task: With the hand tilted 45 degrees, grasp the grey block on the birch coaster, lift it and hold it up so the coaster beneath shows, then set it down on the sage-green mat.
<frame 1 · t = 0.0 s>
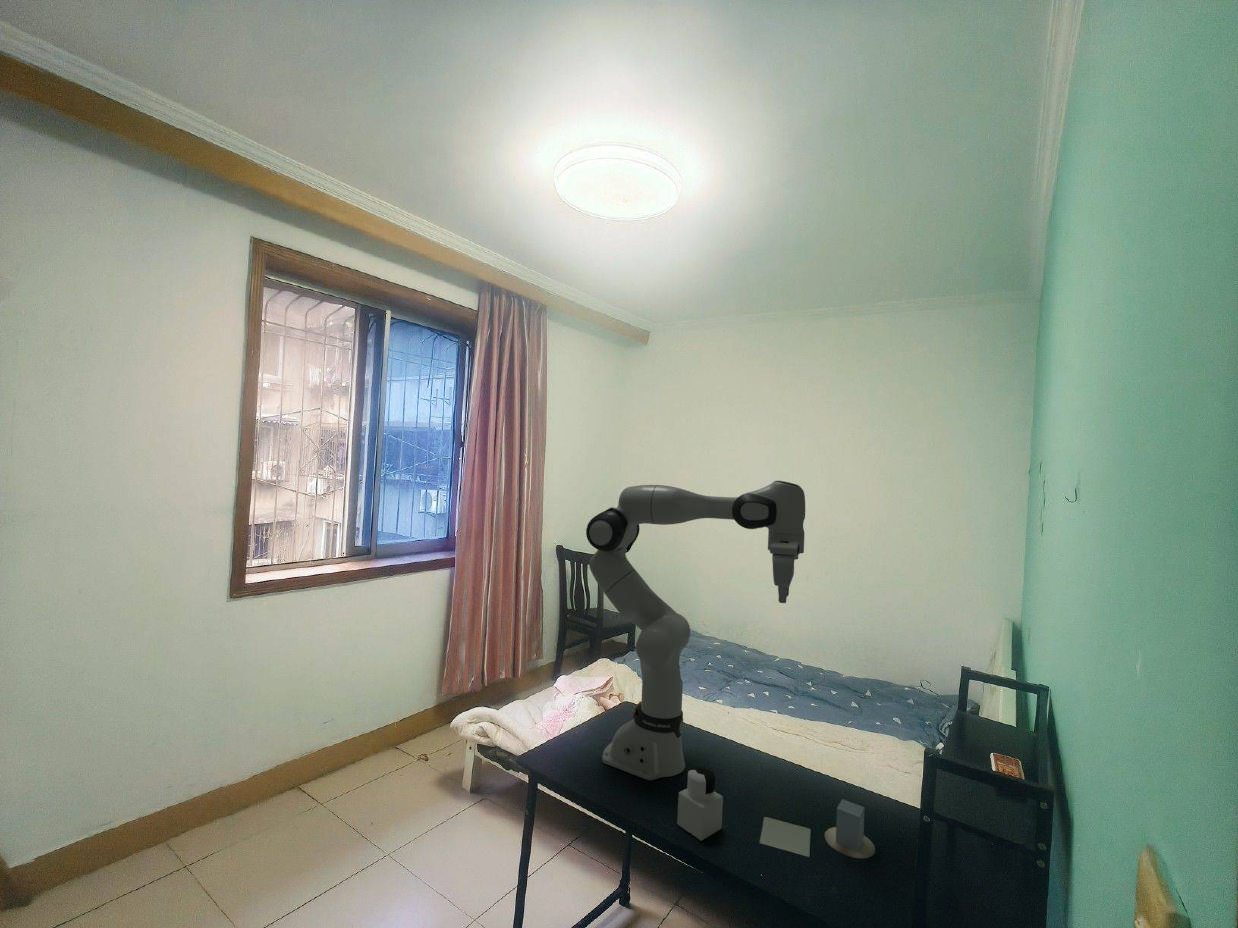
hand: (783, 599, 135), 48 cm above the table, tool pointing down, fingers open, 8 cm apart
sage mat: (785, 836, 116), on the table
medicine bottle: (699, 827, 118), on the table
grey block: (849, 841, 115), resting on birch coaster
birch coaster: (849, 842, 115), on the table
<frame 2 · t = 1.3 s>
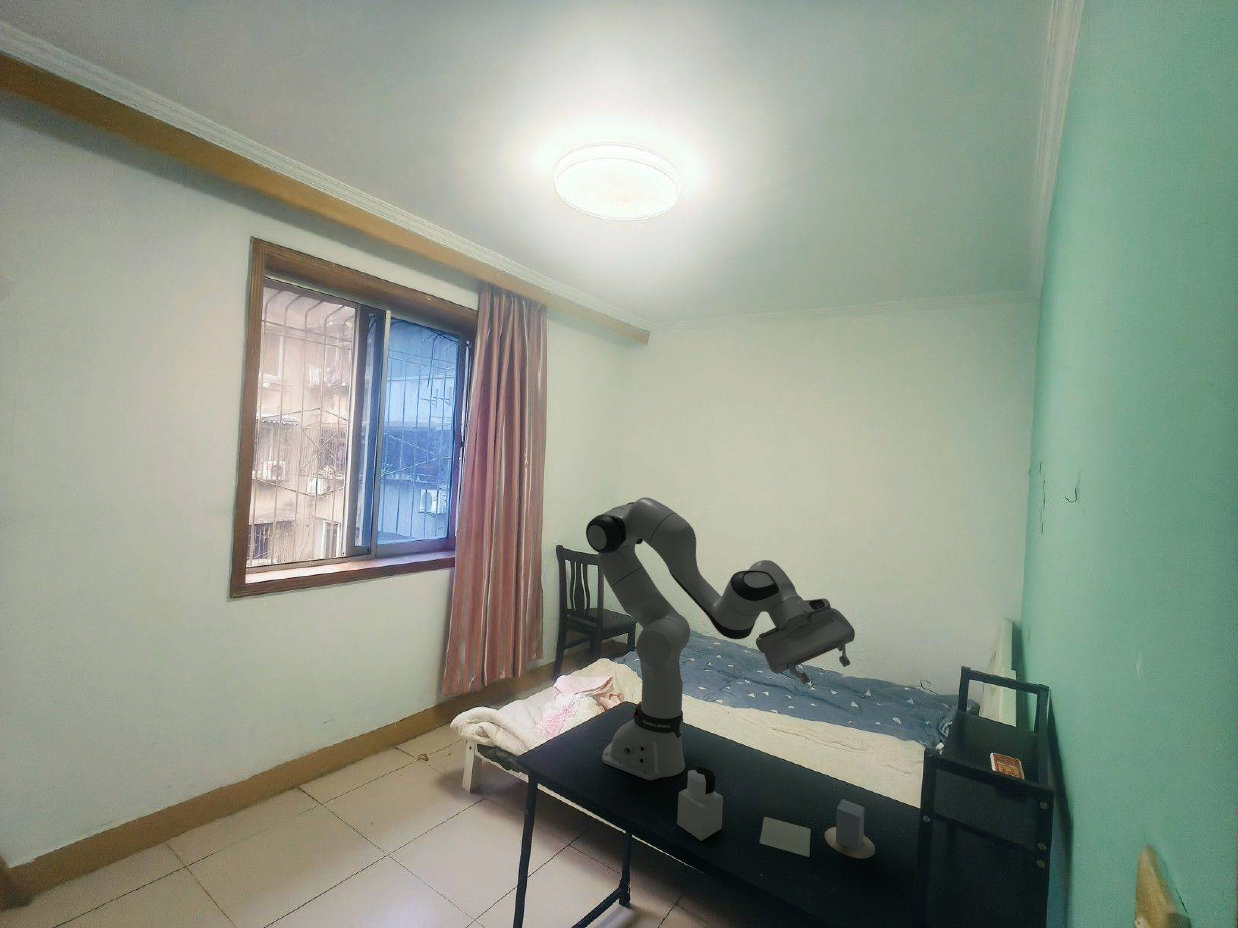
hand: (826, 673, 113), 37 cm above the table, tool tilted 50°, fingers open, 8 cm apart
nothing on the table moved.
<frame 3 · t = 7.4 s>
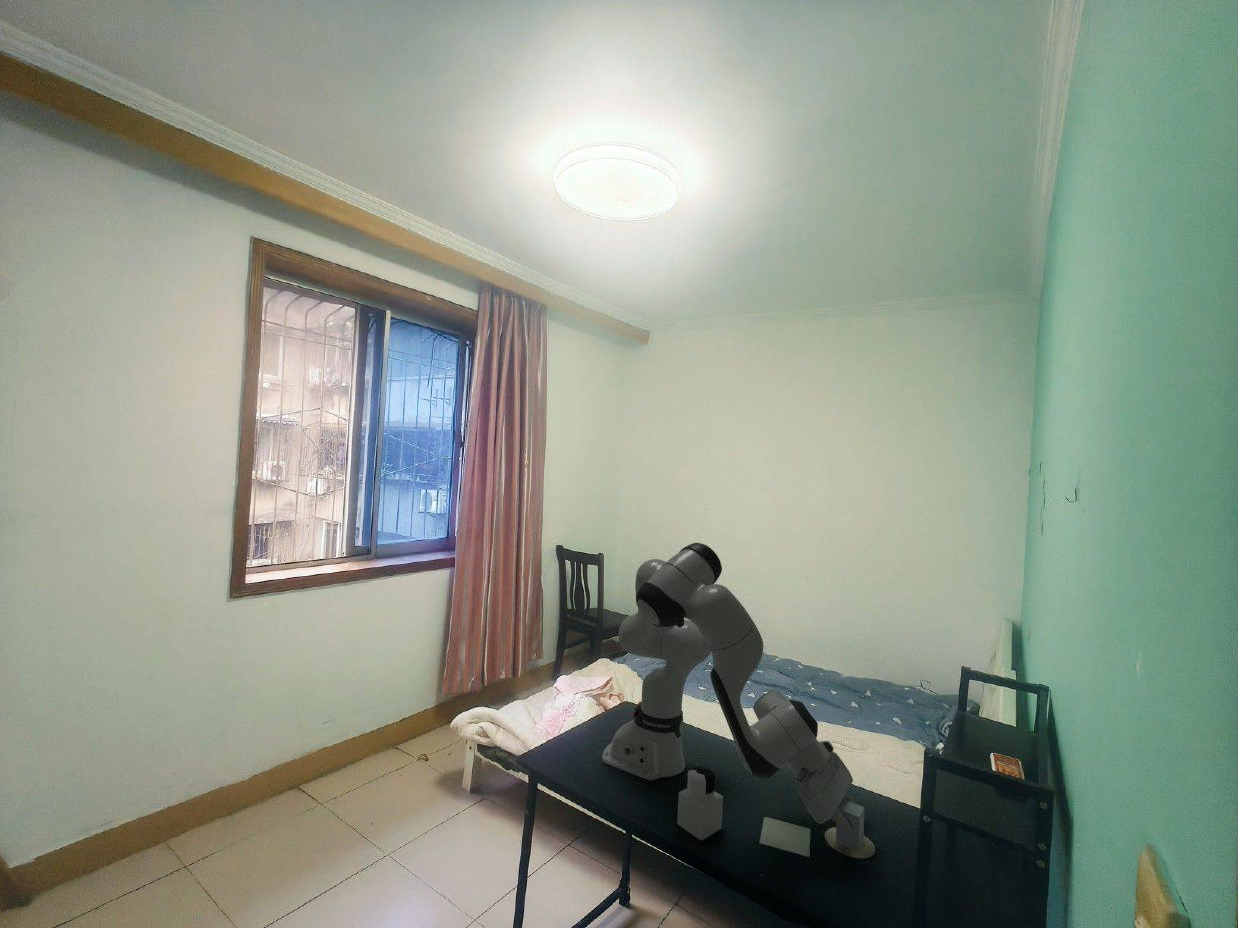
hand: (853, 823, 115), 4 cm above the table, tool tilted 45°, fingers closed on grey block, 5 cm apart
grey block: (849, 841, 115), resting on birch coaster, touching gripper
everything else where it was.
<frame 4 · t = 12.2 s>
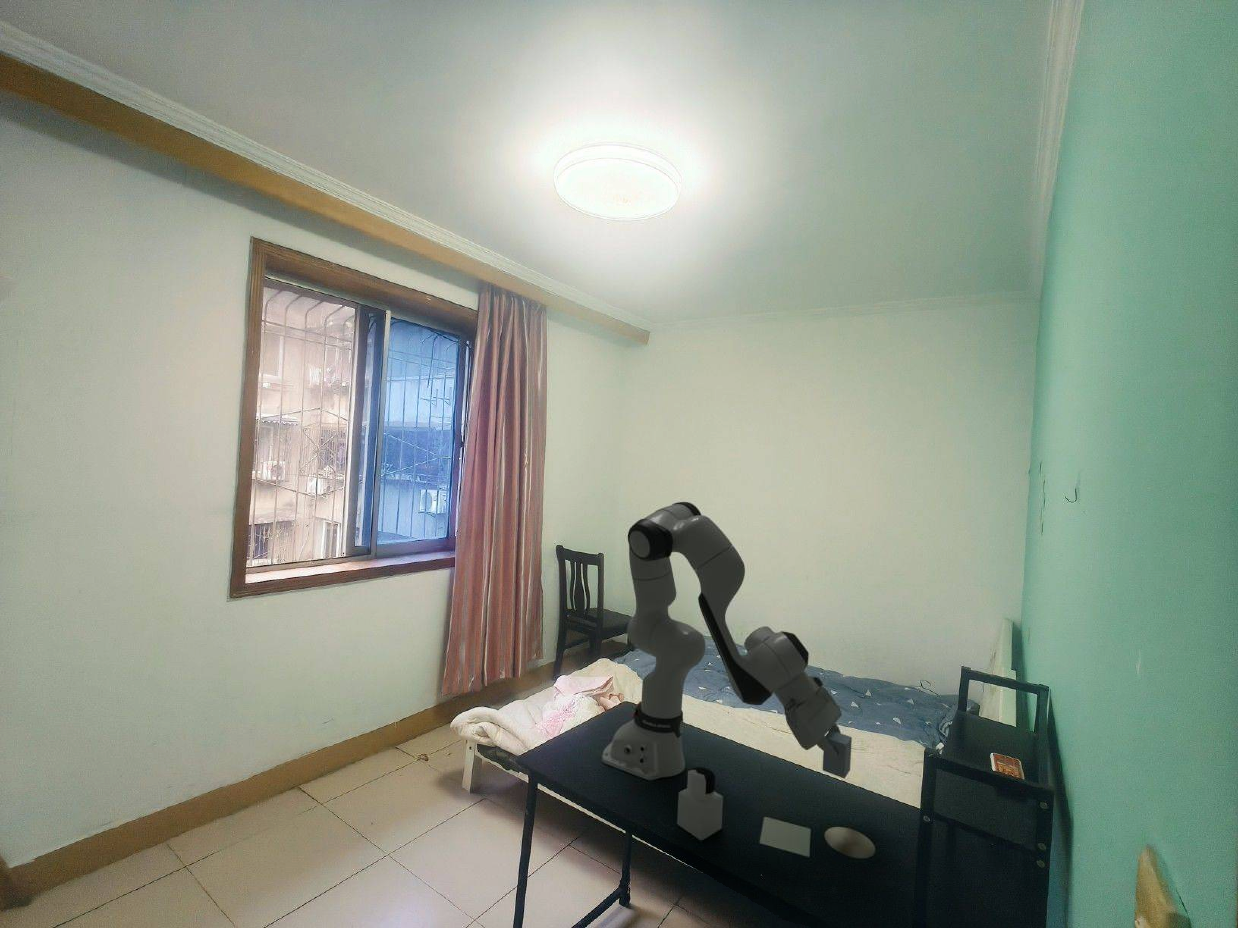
hand: (839, 752, 117), 19 cm above the table, tool tilted 45°, fingers closed on grey block, 5 cm apart
grey block: (836, 769, 117), point 15 cm above the table, touching gripper
everything else where it was.
when the fingers open (6 cm above the table, at t = 16.8 s): grey block drops 2 cm, resting on sage mat.
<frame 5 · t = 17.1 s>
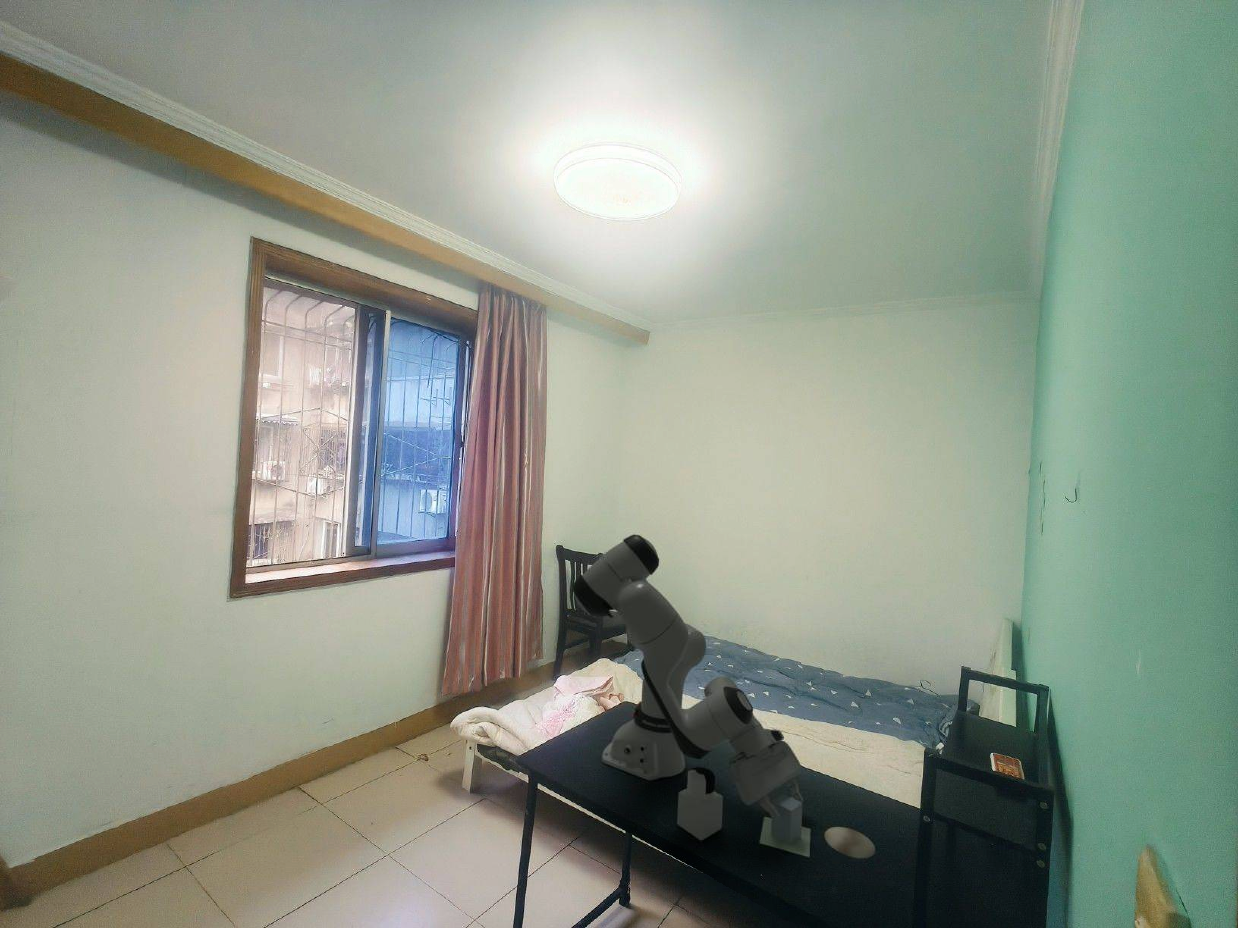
hand: (789, 810, 116), 6 cm above the table, tool tilted 45°, fingers open, 8 cm apart
grey block: (785, 835, 116), resting on sage mat
everything else where it was.
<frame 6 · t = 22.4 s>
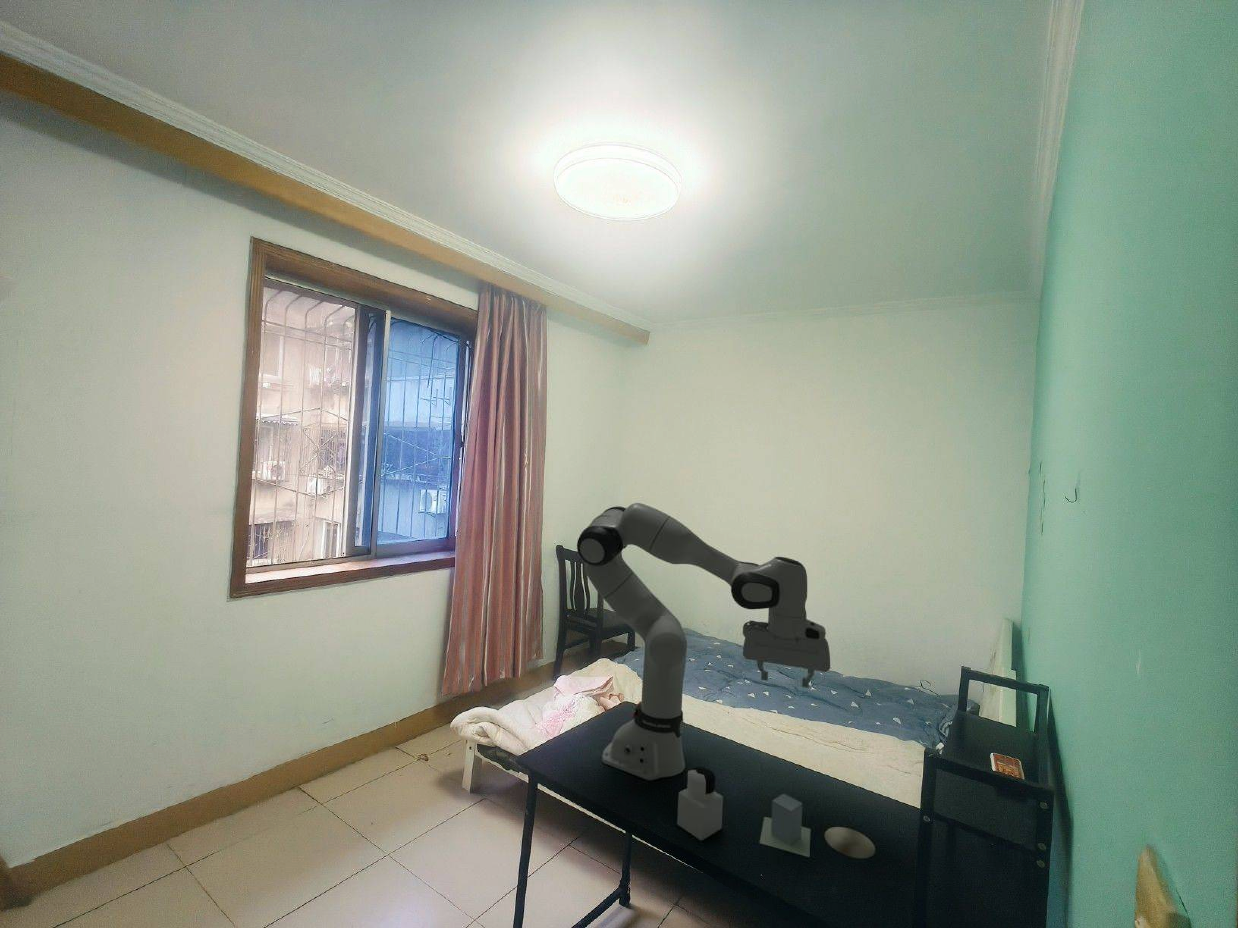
hand: (784, 683, 128), 29 cm above the table, tool pointing down, fingers open, 8 cm apart
nothing on the table moved.
at the end: grey block 0.1 cm off-centre on the sage mat, point 0.2 cm above the sage mat's base; grey block tilted 0°; the gripper is holding nothing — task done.
